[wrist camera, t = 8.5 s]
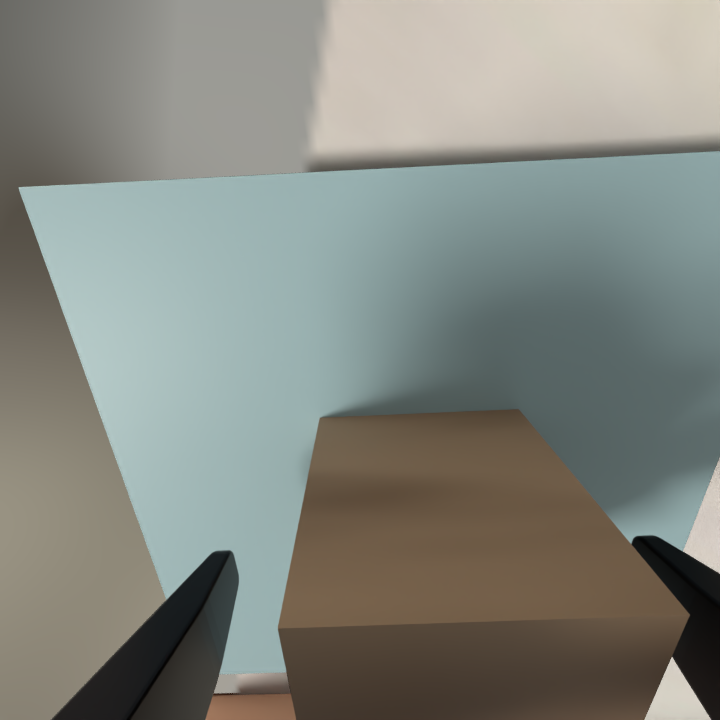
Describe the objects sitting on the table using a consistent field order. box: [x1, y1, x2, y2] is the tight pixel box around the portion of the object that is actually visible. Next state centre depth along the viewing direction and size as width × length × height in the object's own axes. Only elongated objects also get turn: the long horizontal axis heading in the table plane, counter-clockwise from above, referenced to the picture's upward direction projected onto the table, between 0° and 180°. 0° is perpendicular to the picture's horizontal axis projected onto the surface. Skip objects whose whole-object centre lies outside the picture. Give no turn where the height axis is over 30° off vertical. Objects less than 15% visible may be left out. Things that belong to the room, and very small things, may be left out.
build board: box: [19, 151, 720, 674], centre depth 10 cm, size 16×16×1 cm
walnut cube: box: [278, 409, 690, 720], centre depth 8 cm, size 5×5×5 cm
